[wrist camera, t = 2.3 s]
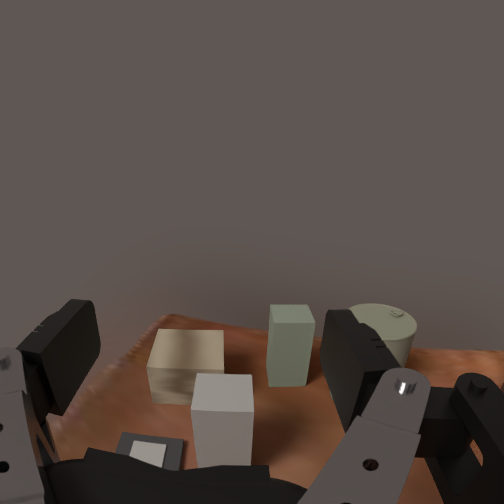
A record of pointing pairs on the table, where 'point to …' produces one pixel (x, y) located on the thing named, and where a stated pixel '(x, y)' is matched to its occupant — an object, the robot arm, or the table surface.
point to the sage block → (289, 345)
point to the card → (152, 450)
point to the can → (389, 327)
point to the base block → (183, 363)
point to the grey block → (223, 419)
